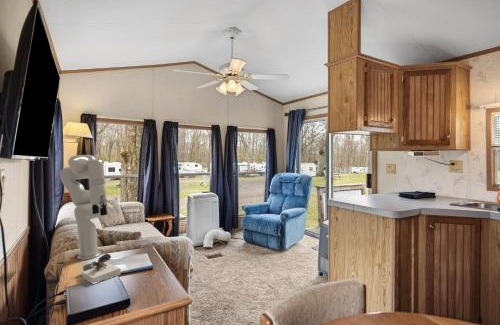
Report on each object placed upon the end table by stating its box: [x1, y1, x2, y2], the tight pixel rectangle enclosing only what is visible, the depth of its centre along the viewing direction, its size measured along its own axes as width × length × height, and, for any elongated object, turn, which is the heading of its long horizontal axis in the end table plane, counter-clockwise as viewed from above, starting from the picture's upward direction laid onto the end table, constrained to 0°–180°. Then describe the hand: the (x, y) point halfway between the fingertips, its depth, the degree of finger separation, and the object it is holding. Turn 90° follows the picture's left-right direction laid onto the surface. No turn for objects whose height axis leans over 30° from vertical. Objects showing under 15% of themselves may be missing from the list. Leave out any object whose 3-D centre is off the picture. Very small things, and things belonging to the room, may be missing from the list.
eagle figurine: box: [90, 253, 112, 272], centre depth 149 cm, size 8×7×9 cm
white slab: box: [81, 263, 122, 283], centre depth 147 cm, size 13×13×3 cm
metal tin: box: [82, 263, 95, 272], centre depth 152 cm, size 5×5×4 cm
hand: (99, 214), depth 160 cm, fingers open, 9 cm apart
